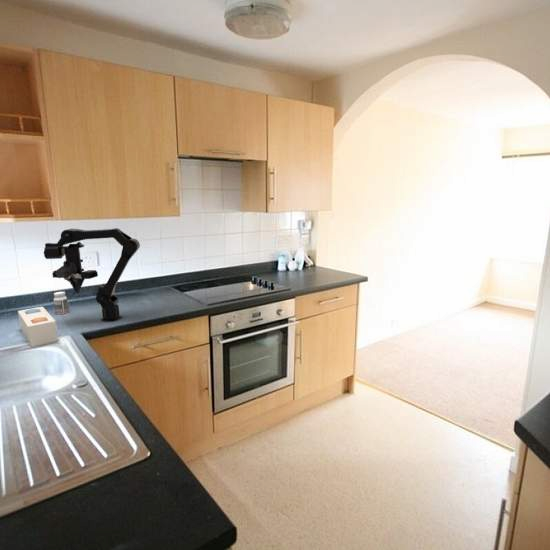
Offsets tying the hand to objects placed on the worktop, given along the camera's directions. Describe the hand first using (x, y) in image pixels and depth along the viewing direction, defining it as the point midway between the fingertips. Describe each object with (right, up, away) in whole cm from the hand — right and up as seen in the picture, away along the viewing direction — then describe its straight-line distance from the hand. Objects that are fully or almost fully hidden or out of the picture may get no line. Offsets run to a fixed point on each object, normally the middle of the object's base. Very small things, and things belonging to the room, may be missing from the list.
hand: (77, 292), depth 164 cm
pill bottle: (-15, -10, +15) cm, 24 cm away
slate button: (-14, -9, -9) cm, 19 cm away
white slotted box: (-9, -16, -13) cm, 23 cm away
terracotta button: (-4, -11, -20) cm, 23 cm away
